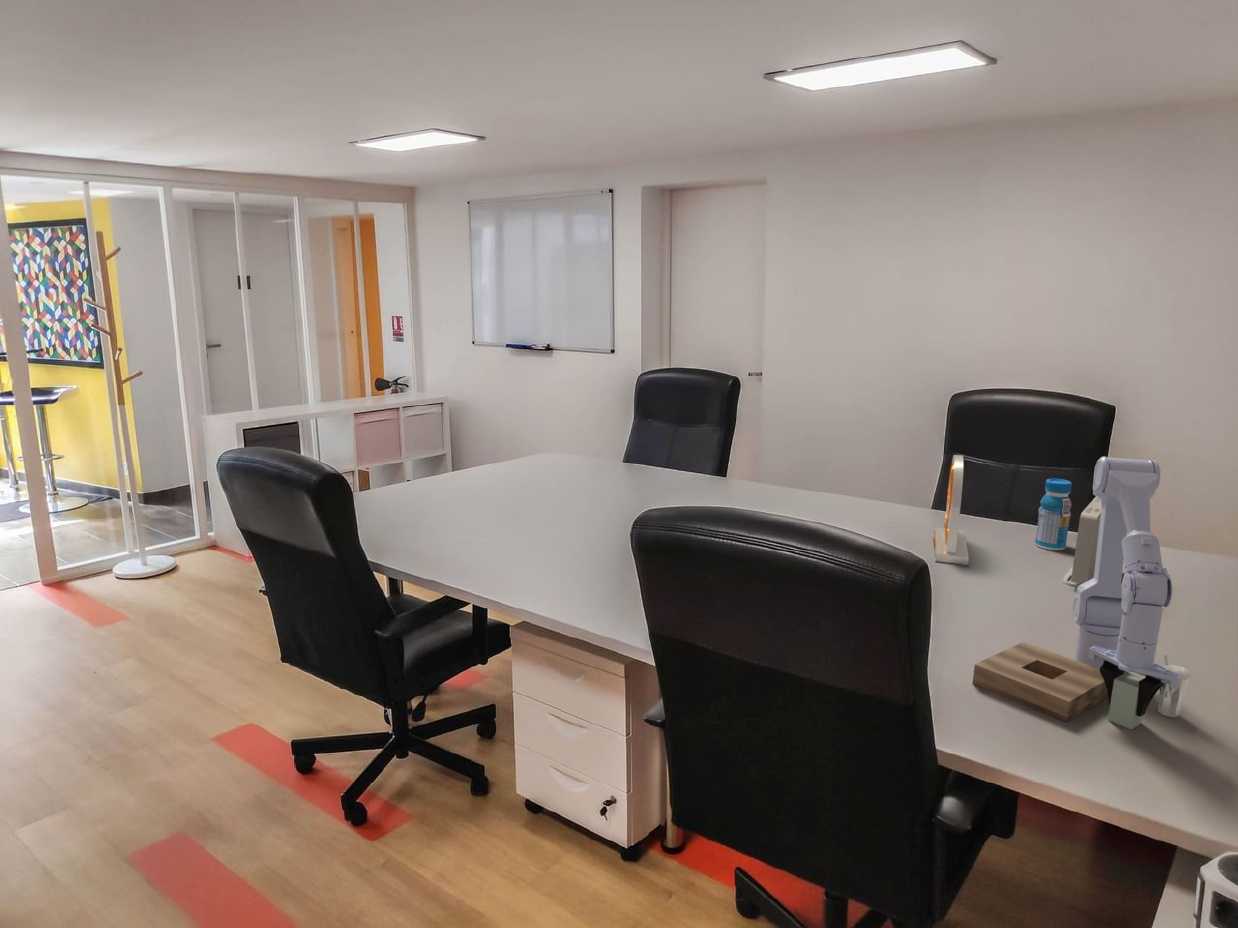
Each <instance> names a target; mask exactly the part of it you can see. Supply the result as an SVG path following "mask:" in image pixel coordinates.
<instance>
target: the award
mask: <svg viewBox="0 0 1238 928" xmlns="http://www.w3.org/2000/svg"><path fill="white" fill-rule="evenodd" d="M963 481H964V455H960V454H953V456H952V461H951V466H950V471H949V478H948V485H947V486H948V488H947V497H946V499H947V500H946V509H945V510H946V511H945V515H944V525H943V527H938V526H936V527H935V528H934V530H933V532H932V540H933V541H932V542H933V551H934V559H935V562H940V563H945V564H946V563H948V564H956V565H965V566H968V565H969V558H970V557H969V552H968V551H969V550H968V546H967V539H966V534H965V530H964V529H959V523H960V514H961V507H962V506H961V505H962V496H963V495H962V494H963V485H964V484H963V483H964V482H963Z"/></svg>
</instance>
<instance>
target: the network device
mask: <svg viewBox="0 0 1238 928" xmlns="http://www.w3.org/2000/svg"><path fill="white" fill-rule="evenodd" d="M1100 517H1101V498H1099V497H1097V496H1095V497H1094V498H1093V499H1092V501H1090V502H1089V504H1088V505H1087V506H1086V507H1085V508H1084V509H1083V510H1082V512H1081V514H1080V517H1079V521H1078V522H1079V523H1078V529H1077V537H1076V543H1075V550H1074V556H1073V557H1074V558H1073V563H1072V564H1073V565H1072V566H1071V568H1069V569H1068V572H1067V573H1066V574H1065V575H1064V576H1063V578H1062V583H1063V584H1065V585H1067V586H1069V587H1074V588H1078V586H1079V585H1081V584H1083V583H1085V582H1087V581H1089V580H1091V579H1093V578H1094V571H1095V562H1096V553H1097V544H1098V535H1099V526H1100ZM1070 578H1071V579H1070ZM1069 579H1070V581H1069Z"/></svg>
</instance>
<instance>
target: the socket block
mask: <svg viewBox="0 0 1238 928" xmlns="http://www.w3.org/2000/svg"><path fill="white" fill-rule="evenodd" d="M972 684H973V685H976V686H978V687H981V688H983V689H986V690H988V691H991V692H993V693H995V694H997V695H1000V696H1003V697H1005V698H1007V699H1010V700H1011V701H1015V702H1016V703H1019V704H1022V705H1024V706H1026V707H1029V708H1032V709H1033V710H1035V711H1039V712H1040V713H1043V714H1046V715H1048V716H1050V717H1053V718H1055V719H1057V720H1060V721H1062V722H1064V723H1067V722H1068V721H1070V720H1073V719H1074V718H1076V717H1077V716H1079V715H1081V714H1082V713H1084V712H1085V711H1087V710H1089V709H1090V708H1093V706H1095V705H1097V704H1099V703H1101V702H1102V701H1104V700H1105V699H1108V693H1107V689H1106V685H1105V682H1104V679H1103V677H1102V675H1101V673H1100V669H1098V668H1095V667H1092V666H1089V665H1086V664H1084V663H1081V662H1078V661H1075V659H1072V658H1069V657H1066V656H1064V655H1061V654H1058V653H1056V652H1054V651H1053V652H1052V651H1049V650H1046V649H1044V648H1042V647H1038V646H1036V645H1033V644H1030V643H1027V642H1025V641H1022V642H1020V643H1018V644H1014V646H1011V647H1009V648H1007V649H1005V650H1002V651H1001V652H998V653H996V654H994V655H992V656H990V657H987V658H985V659H983V660H980V661H978V662H977V663H974V669H973V676H972Z"/></svg>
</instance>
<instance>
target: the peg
mask: <svg viewBox="0 0 1238 928" xmlns="http://www.w3.org/2000/svg"><path fill="white" fill-rule="evenodd" d="M1142 679H1143V678H1140V677H1136V676H1133V675H1130V674H1128V673H1125V672H1124V674H1122V675H1120V676H1119V677H1117V678H1115V679H1114V684H1113V690H1112V696H1111V703H1110V705H1109V710H1108V717H1107V721H1109V722H1111V723H1114V724H1117V725H1119V726H1122V727H1124V728H1126V729H1129V730H1131V731H1132V730H1133V729H1135V728H1136V727H1138V726H1140V725H1141V724H1143V723H1142V722H1143V717H1144V715H1143V716H1141V717H1139V716H1137V715H1136V710H1137V705H1138V700H1139V681H1140V680H1142Z"/></svg>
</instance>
